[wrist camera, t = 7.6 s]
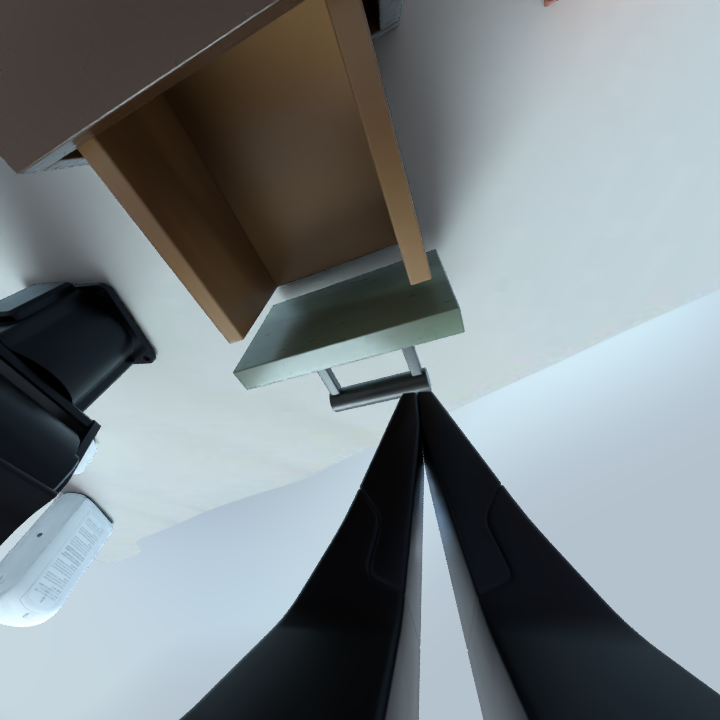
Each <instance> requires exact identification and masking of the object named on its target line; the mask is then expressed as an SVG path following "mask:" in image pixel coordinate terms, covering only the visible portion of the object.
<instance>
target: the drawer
mask: <svg viewBox="0 0 720 720" xmlns="http://www.w3.org/2000/svg"><path fill="white" fill-rule="evenodd" d="M77 149H78V150H79V151H80V153H81V154H82V155H83V157H84V158H85V159H86V160H87V162H88V163H89V164H90V166H91V167H92V168H93V169H94V171H95V172H96V173H97V175H98V176H99V177H100V178H101V180H102V181H103V182H104V183H105V185H106V186H107V187H108V189H109V190H110V191H111V192H112V194H113V195H114V196H115V198H116V199H117V200H118V201H119V203H120V204H121V205H122V207H123V208H124V209H125V210H126V212H127V213H128V214H129V216H130V217H131V218H132V219H133V221H134V222H135V223H136V224H137V226H138V227H139V228H140V230H141V231H142V232H143V233H144V235H145V236H146V237H147V239H148V240H149V241H150V242H151V244H152V245H153V246H154V248H155V249H156V250H157V251H158V253H159V254H160V255H161V257H162V258H163V259H164V260H165V262H166V263H167V264H168V265H169V267H170V268H171V269H172V271H173V272H174V273H175V274H176V276H177V277H178V278H179V280H180V281H181V282H182V283H183V285H184V286H185V287H186V289H187V290H188V291H189V292H190V294H191V295H192V296H193V298H194V299H195V300H196V301H197V303H198V304H199V305H200V306H201V308H202V309H203V310H204V312H205V313H206V314H207V315H208V317H209V318H210V319H211V321H212V322H213V323H214V324H215V326H216V327H217V328H218V330H219V331H220V332H221V333H222V335H223V336H224V337H225V339H226V340H227V341H228V342H229V343H234V342H237V341H240V340H243V339H244V338H245V336H246V335H247V333H248V332H249V330H250V329H251V327H252V325H253V324H254V322H255V321H256V319H257V318H258V316H259V315H260V313H261V312H262V310H263V308H264V307H265V305H266V304H267V302H268V301H269V299H270V298H271V296H272V294H273V293H274V291H275V290H276V288H277V287H279V286H282V285H284V284H287V283H290V282H293V281H295V280H298V279H301V278H304V277H306V276H309V275H312V274H314V273H317V272H320V271H323V270H325V269H328V268H331V267H334V266H336V265H339V264H342V263H345V262H347V261H350V260H353V259H356V258H358V257H361V256H364V255H366V254H369V253H372V252H375V251H377V250H380V249H383V248H386V247H388V246H391V245H394V244H397V243H398V245H399V249H400V252H401V255H402V258H403V261H400V262H397V263H394V264H391V265H388V266H385V267H382V268H380V269H377V270H374V271H371V272H368V273H365V274H362V275H359V276H357V277H354V278H351V279H348V280H345V281H342V282H339V283H336V284H333V285H331V286H328V287H325V288H322V289H319V290H316V291H313V292H310V293H308V294H305V295H302V296H299V297H296V298H293V299H290V300H287V301H285V302H282V303H279V304H276V305H273V307H272V309H271V310H270V312H269V314H268V315H267V317H266V319H265V320H264V322H263V324H262V325H261V327H260V329H259V330H258V332H257V333H256V335H255V337H254V338H253V340H252V342H251V343H250V345H249V347H248V348H247V350H246V352H245V353H244V355H243V357H242V358H241V360H240V362H239V363H238V365H237V367H236V368H235V370H234V372H233V373H234V375H235V376H236V377H237V378H238V379H239V381H240V382H241V383H242V384H243V385H244V387H245V388H246V389H247V390H249V389H252V388H256V387H260V386H264V385H267V384H271V383H275V382H279V381H282V380H286V379H290V378H294V377H298V376H301V375H305V374H309V373H313V372H316V371H317V372H318V374H319V375H320V377H321V379H322V380H323V382H324V384H325V385H326V387H327V388H328V390H329V392H330V396H329V397H330V404H331V406H332V409H333V410H334V411H335V412H339V411H343V410H348V409H352V408H357V407H362V406H366V405H371V404H375V403H380V402H384V401H389V400H393V399H398V398H401V396H402V394H403V393H408V392H416V393H418V392H420V391H431V384H430V379H429V376H428V372H427V369H426V368H421V365H420V362H419V359H418V356H417V353H416V350H415V347H414V345H418V344H422V343H426V342H429V341H433V340H437V339H441V338H444V337H448V336H452V335H456V334H459V333H463V332H464V331H465V330H464V326H463V321H462V316H461V311H460V307H459V304H458V302H457V300H456V297H455V295H454V292H453V290H452V287H451V285H450V282H449V280H448V277H447V275H446V272H445V270H444V267H443V265H442V263H441V260H440V258H439V255H438V253H437V250H436V249H434V250H431V251H428V252H425V248H424V244H423V240H422V236H421V232H420V228H419V224H418V220H417V216H416V212H415V208H414V204H413V200H412V197H411V193H410V189H409V185H408V181H407V177H406V173H405V169H404V165H403V161H402V157H401V153H400V149H399V145H398V141H397V137H396V133H395V129H394V125H393V121H392V117H391V113H390V109H389V105H388V101H387V98H386V94H385V90H384V86H383V82H382V78H381V74H380V70H379V66H378V62H377V58H376V54H375V50H374V46H373V42H372V38H371V34H370V30H369V26H368V22H367V18H366V14H365V10H364V6H363V3H362V0H305V1H303V2H302V3H300V4H299V5H297V6H296V7H294V8H293V9H291V10H290V11H288V12H286V13H285V14H283V15H282V16H280V17H279V18H277V19H276V20H274V21H273V22H271V23H270V24H268V25H266V26H265V27H263V28H262V29H260V30H259V31H257V32H256V33H254V34H253V35H251V36H249V37H248V38H246V39H245V40H243V41H242V42H240V43H239V44H237V45H236V46H234V47H232V48H231V49H229V50H228V51H226V52H225V53H223V54H222V55H220V56H219V57H217V58H216V59H214V60H212V61H211V62H209V63H208V64H206V65H205V66H203V67H202V68H200V69H199V70H197V71H195V72H194V73H192V74H191V75H189V76H188V77H186V78H185V79H183V80H182V81H180V82H178V83H177V84H175V85H174V86H172V87H171V88H169V89H168V90H166V91H165V92H163V93H161V94H160V95H158V96H157V97H155V98H154V99H152V100H151V101H149V102H148V103H146V104H145V105H143V106H141V107H140V108H138V109H137V110H135V111H134V112H132V113H131V114H129V115H128V116H126V117H124V118H123V119H121V120H120V121H118V122H117V123H115V124H114V125H112V126H111V127H109V128H107V129H106V130H104V131H103V132H101V133H100V134H98V135H97V136H95V137H94V138H92V139H91V140H89V141H87V142H86V143H84V144H83V145H81V146H80V147H78V148H77ZM399 349H402V350H403V353H404V356H405V359H406V361H407V364H408V367H409V369H410V371H408V372H404V373H400V374H396V375H392V376H388V377H384V378H380V379H375V380H371V381H367V382H363V383H359V384H355V385H351V386H347V387H343V388H341V386H340V384H339V382H338V381H337V379H336V377H335V375H334V374H333V372H332V370H331V367H335V366H339V365H343V364H346V363H350V362H354V361H358V360H362V359H365V358H369V357H373V356H377V355H380V354H384V353H388V352H392V351H395V350H399Z"/></svg>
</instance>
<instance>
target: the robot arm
mask: <svg viewBox="0 0 720 720" xmlns="http://www.w3.org/2000/svg"><path fill="white" fill-rule="evenodd" d="M102 290H103V291H104V292H103V291H102ZM155 359H156V355H155V353H154V352H153V350H152V349H151V347H150V346H149V344H148V343H147V341H146V340H145V338H144V337H143V335H142V334H141V332H140V331H139V329H138V328H137V326H136V325H135V323H134V322H133V320H132V318H131V317H130V315H129V314H128V312H127V311H126V309H125V308H124V306H123V305H122V303H121V302H120V300H119V299H118V297H117V296H116V294H115V293H114V291H113V290H112V288H111V287H110V286H108V285H107V284H105V283H90V284H78V285H73V284H72V283H70V282H55V283H43V284H34V285H32V286H30V287H28V288H26V289H23V290H21V291H19V292H17V293H15V294H13V295H11V296H8V297H6V298H4V299H2V300H0V545H1V544H2V543H3V542H4V541H5V540H6V539H7V538H8V537H9V536H10V535H11V534H12V533H13V532H14V531H15V530H16V529H17V528H18V527H19V526H20V525H21V524H23V523H24V522H25V521H26V520H27V519H28V518H29V517H30V516H31V515H33V514H34V513H35V512H36V511H38V510H39V509H40V508H42V507H43V506H44V505H46V504H47V503H48V502H50V501H51V500H52V499H53V498H55V497H56V496H57V494H58V493H59V492H60V491H61V490H62V489H63V487H64V486H65V485H66V484H67V483H68V481H69V480H70V478H71V477H72V475H73V473H74V472H75V470H76V468H77V467H78V465H79V463H80V461H81V460H82V458H83V456H84V455H85V453H86V451H87V449H88V448H89V446H90V444H91V443H92V441H93V439H94V437H95V436H96V434H97V432H98V431H99V429H100V427H101V425H99V424H98V423H97V422H96V421H95V420H91V419H90V418H89V417H88V416H86V415H85V414H84V413H83V412H84V411H85V410H86V409H87V408H88V407H89V406H90V405H91V404H92V403H93V402H94V401H95V400H96V399H97V398H98V397H99V396H100V395H101V394H102V393H103V392H105V391H106V390H107V389H108V388H109V387H110V386H111V385H112V384H113V383H114V382H115V381H116V380H117V379H118V378H119V377H120V376H121V375H122V374H123V373H124V372H125V371H126V370H127V369H128V368H129V367H130V366H131V365H132V364H146V363H152V362H153V361H154V360H155ZM423 457H424V460H423ZM424 465H425V470H426V475H427V479H428V483H429V487H430V492H431V495H432V500H433V505H434V508H435V513H436V517H437V521H438V526H439V530H440V534H441V539H442V543H443V548H444V552H445V556H446V560H447V565H448V569H449V573H450V578H451V582H452V586H453V590H454V594H455V599H456V603H457V607H458V612H459V616H460V620H461V624H462V629H463V633H464V638H465V642H466V646H467V649H468V655H469V659H470V664H471V668H472V672H473V677H474V681H475V685H476V689H477V693H478V698H479V702H480V706H481V711H482V715H483V719H484V720H720V695H719V694H718V693H717V692H715V691H714V690H713V689H711V688H710V687H708V686H707V685H706V684H704V683H703V682H702V681H700V680H699V679H698V678H696V677H695V676H694V675H692V674H691V673H689V672H688V671H687V670H685V669H684V668H683V667H681V666H680V665H679V664H677V663H676V662H675V661H673V660H672V659H671V658H669V657H668V656H666V655H665V654H663V653H662V652H661V651H660V650H658V649H657V648H656V647H654V646H653V645H652V644H650V643H649V642H648V641H647V640H645V639H644V638H643V637H642V636H641V635H639V634H638V633H637V632H636V631H635V630H634V629H633V628H631V627H630V626H629V625H628V624H627V623H626V622H624V620H623V619H622V618H621V617H620V616H619V615H618V614H616V612H615V611H614V610H613V609H612V608H611V607H610V606H609V605H608V604H607V603H606V602H605V601H604V600H603V599H602V598H601V597H600V596H599V595H598V594H597V592H596V591H595V590H594V589H593V588H592V587H591V586H590V585H589V584H588V583H587V582H586V581H585V579H584V578H583V577H581V575H580V574H579V573H578V572H577V571H576V570H575V569H574V568H573V567H572V565H571V564H570V563H569V562H568V561H567V560H566V559H565V558H564V557H563V556H562V555H561V554H560V552H559V551H557V549H556V548H555V547H554V546H553V545H552V544H551V543H550V542H549V541H548V539H547V538H546V537H545V536H544V535H543V534H542V533H541V532H540V531H539V529H538V528H537V527H536V526H535V525H534V524H533V523H532V522H531V520H530V519H529V518H528V517H527V515H526V514H525V513H524V512H523V510H522V509H521V508H520V507H519V505H518V504H517V503H516V502H515V500H514V499H513V498H512V497H511V495H510V494H509V493H508V491H507V490H506V489H505V487H504V486H503V485H501V482H500V481H499V480H498V478H497V477H496V476H495V474H494V473H493V472H492V470H491V469H490V468H489V466H488V465H487V464H486V462H485V461H484V460H483V459H482V457H481V456H480V454H479V453H478V452H477V451H476V449H475V448H474V446H473V445H472V444H471V443H470V441H469V440H468V439H467V437H466V436H465V435H464V433H463V432H462V431H461V429H460V428H459V427H458V425H457V424H456V423H455V421H454V420H453V419H452V417H451V416H450V415H449V413H448V412H447V411H446V409H445V408H444V407H443V405H442V404H441V403H440V402H439V400H438V399H437V398H436V396H435V395H434V394H433V392H432V391H420V392H418V393H416V392H408V393H403V394H402V396H401V398H400V400H399V402H398V404H397V406H396V409H395V411H394V413H393V415H392V417H391V420H390V422H389V424H388V426H387V428H386V431H385V433H384V435H383V437H382V439H381V441H380V444H379V446H378V448H377V450H376V453H375V455H374V457H373V459H372V461H371V463H370V466H369V468H368V470H367V472H366V474H365V477H364V479H363V481H362V483H361V485H360V489H359V490H358V491H357V494H356V496H355V498H354V500H353V502H352V504H351V506H350V508H349V510H348V512H347V515H346V516H345V519H344V520H343V522H342V524H341V526H340V528H339V529H338V531H337V533H336V535H335V536H334V538H333V540H332V542H331V543H330V545H329V546H328V548H327V550H326V551H325V553H324V555H323V556H322V558H321V560H320V561H319V563H318V565H317V566H316V568H315V569H314V571H313V573H312V574H311V576H310V578H309V579H308V581H307V583H306V584H305V586H304V588H303V589H302V591H301V593H300V594H299V596H298V597H297V599H296V600H295V602H294V603H293V605H292V606H291V607H290V609H289V610H288V612H287V613H286V614H285V615H284V617H283V618H282V619H281V620H280V621H279V622H278V624H277V625H276V626H275V627H274V628H273V629H272V630H271V631H270V632H269V633H268V634H267V635H266V636H265V637H264V638H263V639H262V640H261V641H260V642H259V643H258V644H257V645H256V646H255V647H254V648H253V649H252V650H251V651H250V652H249V653H248V654H247V655H246V656H245V657H244V658H243V659H242V660H241V661H240V662H239V663H238V664H236V665H235V666H234V667H233V668H232V669H231V671H229V672H228V673H227V674H226V675H225V677H223V679H221V680H220V681H219V682H218V683H217V684H216V685H215V686H214V688H212V689H211V690H210V691H209V692H208V693H207V694H206V695H205V696H204V697H203V698H202V699H201V700H200V702H198V703H197V704H196V705H195V706H194V707H193V708H192V709H191V710H190V711H189V712H187V713H186V714H185V715H184V716H183V717H182V718H181V719H179V720H419V678H420V631H421V585H422V539H423V495H424Z"/></svg>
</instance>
